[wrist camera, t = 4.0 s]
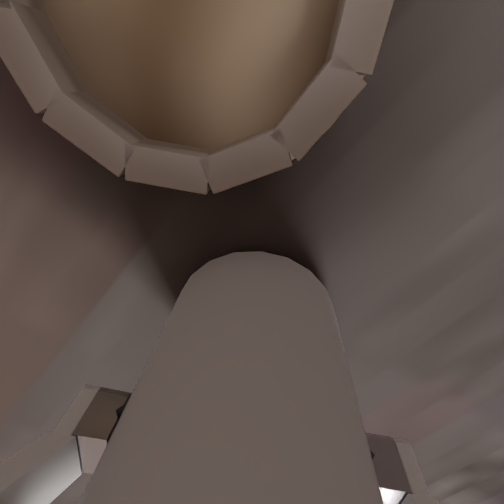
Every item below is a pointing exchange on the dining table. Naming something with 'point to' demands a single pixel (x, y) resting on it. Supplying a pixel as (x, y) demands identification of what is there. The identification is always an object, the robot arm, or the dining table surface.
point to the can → (242, 399)
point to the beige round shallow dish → (192, 80)
